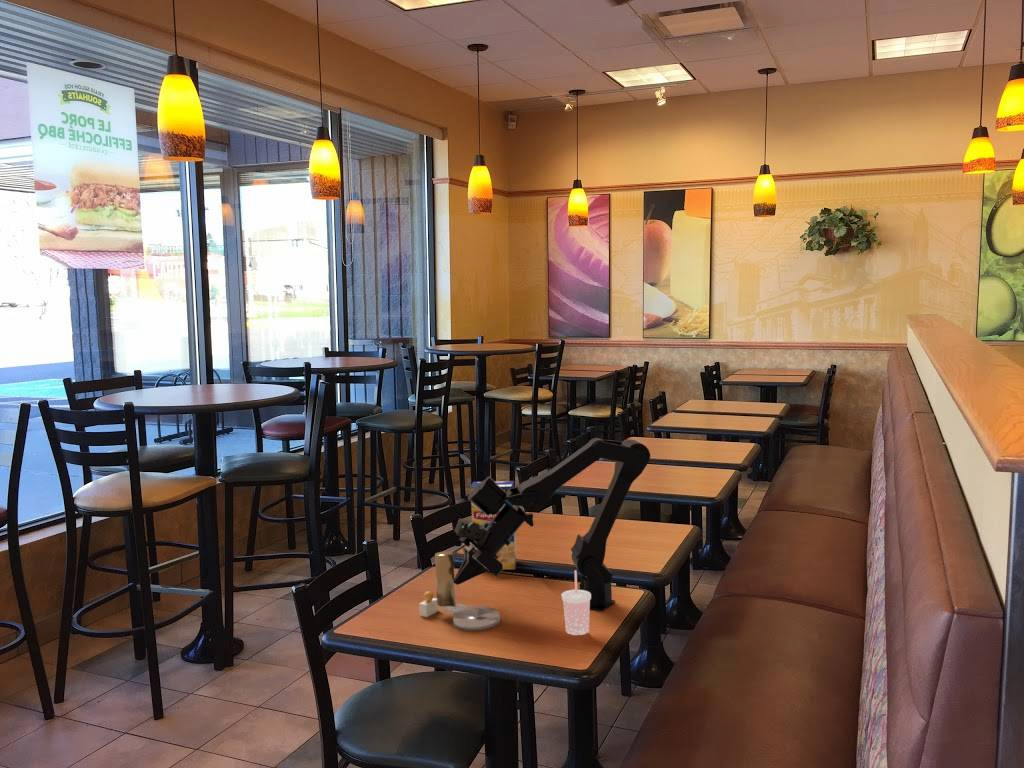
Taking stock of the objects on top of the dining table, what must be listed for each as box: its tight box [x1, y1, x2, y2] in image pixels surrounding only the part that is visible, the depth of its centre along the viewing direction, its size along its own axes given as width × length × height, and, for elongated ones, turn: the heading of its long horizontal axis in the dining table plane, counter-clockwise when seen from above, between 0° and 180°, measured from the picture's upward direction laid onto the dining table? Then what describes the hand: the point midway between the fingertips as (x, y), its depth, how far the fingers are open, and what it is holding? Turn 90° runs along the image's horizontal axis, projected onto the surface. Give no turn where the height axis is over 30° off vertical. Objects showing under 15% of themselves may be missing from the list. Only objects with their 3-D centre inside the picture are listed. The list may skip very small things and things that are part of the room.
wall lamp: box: [434, 551, 501, 632], centre depth 182 cm, size 15×10×14 cm, turn 57°
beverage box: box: [470, 480, 517, 571], centre depth 224 cm, size 7×11×22 cm, turn 87°
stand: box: [418, 590, 440, 618], centre depth 183 cm, size 22×17×6 cm
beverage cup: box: [560, 569, 591, 636], centre depth 174 cm, size 6×6×14 cm
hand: (455, 583), depth 186 cm, fingers closed, pressing on wall lamp
